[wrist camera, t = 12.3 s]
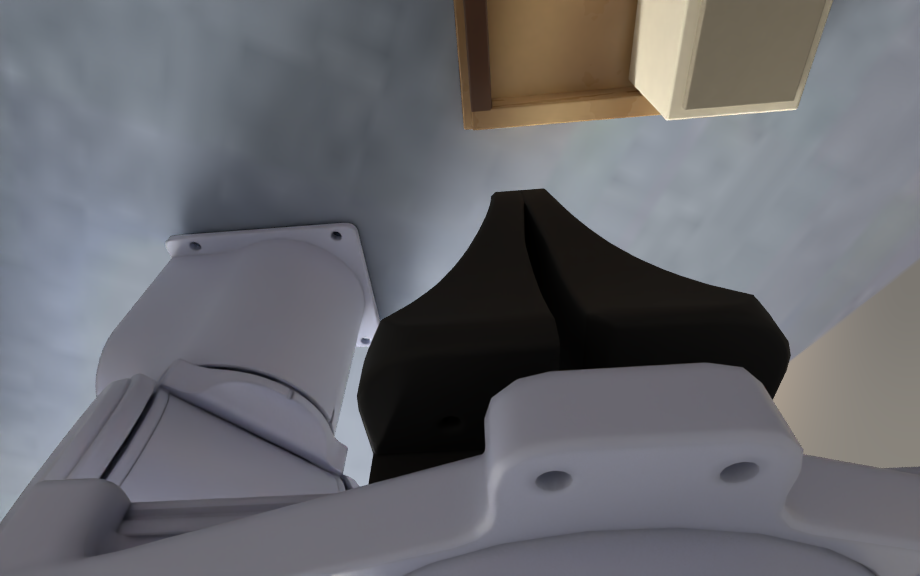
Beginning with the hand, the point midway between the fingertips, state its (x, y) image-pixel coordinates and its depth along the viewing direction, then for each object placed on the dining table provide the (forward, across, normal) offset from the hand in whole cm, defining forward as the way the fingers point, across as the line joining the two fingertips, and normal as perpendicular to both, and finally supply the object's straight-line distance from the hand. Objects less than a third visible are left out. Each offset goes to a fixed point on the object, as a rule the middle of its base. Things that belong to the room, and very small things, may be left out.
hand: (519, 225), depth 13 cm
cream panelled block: (+10, -7, -3) cm, 12 cm away
